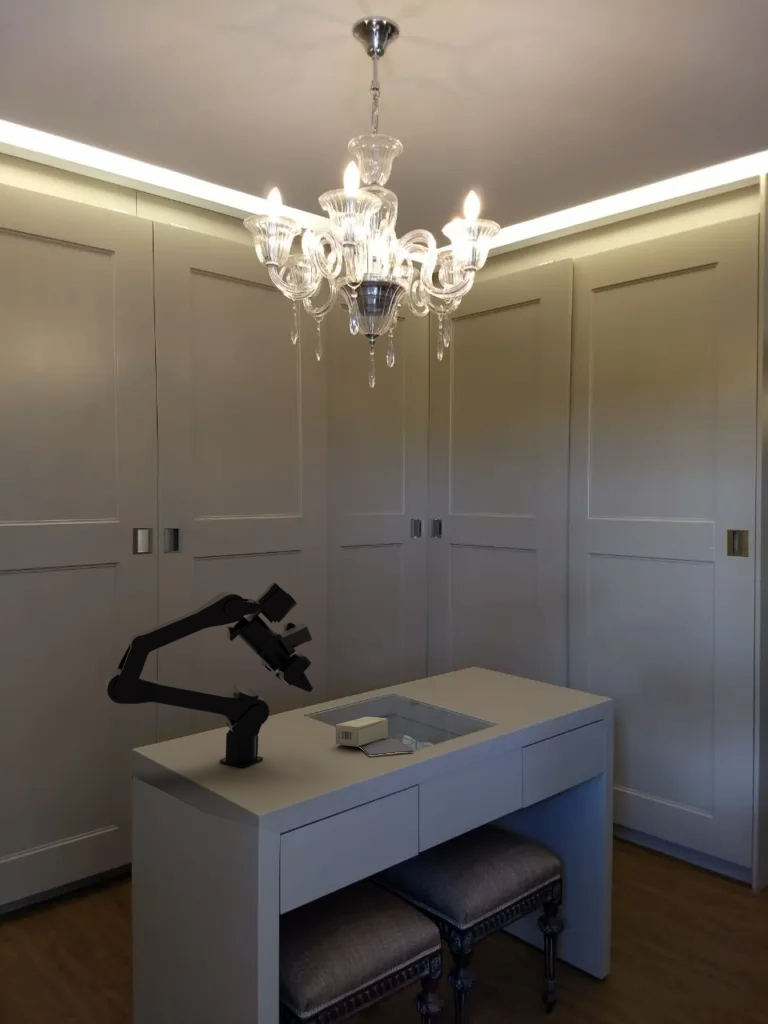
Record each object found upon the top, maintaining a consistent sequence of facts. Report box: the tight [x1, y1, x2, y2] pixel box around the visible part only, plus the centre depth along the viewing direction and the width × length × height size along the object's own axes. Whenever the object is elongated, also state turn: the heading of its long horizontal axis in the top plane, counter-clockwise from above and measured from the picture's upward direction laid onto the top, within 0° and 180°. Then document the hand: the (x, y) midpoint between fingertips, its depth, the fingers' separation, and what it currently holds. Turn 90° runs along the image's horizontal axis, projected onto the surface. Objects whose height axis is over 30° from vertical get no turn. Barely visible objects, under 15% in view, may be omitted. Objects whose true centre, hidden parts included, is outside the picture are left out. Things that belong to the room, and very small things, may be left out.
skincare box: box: [335, 716, 389, 748], centre depth 173 cm, size 6×4×12 cm
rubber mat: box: [358, 738, 414, 756], centre depth 169 cm, size 10×9×1 cm
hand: (311, 690), depth 163 cm, fingers closed
